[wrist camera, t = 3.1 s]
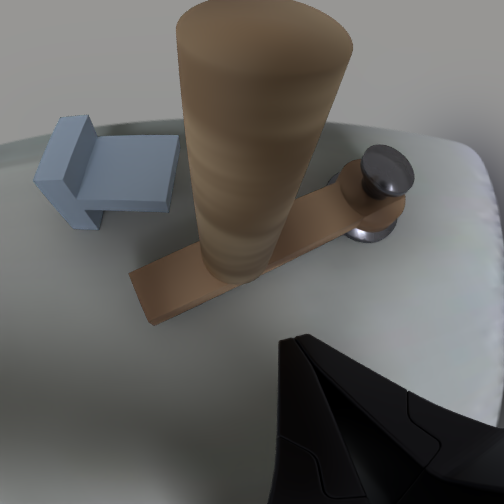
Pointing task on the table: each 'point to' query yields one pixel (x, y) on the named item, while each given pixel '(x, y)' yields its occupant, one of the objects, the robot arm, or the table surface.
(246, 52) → the swing link
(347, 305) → the table surface
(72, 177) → the bracket
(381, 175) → the pin stand
